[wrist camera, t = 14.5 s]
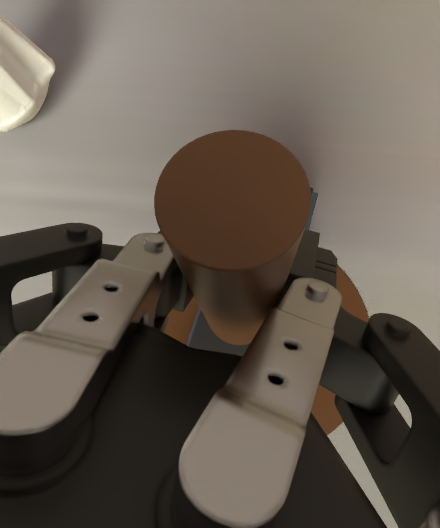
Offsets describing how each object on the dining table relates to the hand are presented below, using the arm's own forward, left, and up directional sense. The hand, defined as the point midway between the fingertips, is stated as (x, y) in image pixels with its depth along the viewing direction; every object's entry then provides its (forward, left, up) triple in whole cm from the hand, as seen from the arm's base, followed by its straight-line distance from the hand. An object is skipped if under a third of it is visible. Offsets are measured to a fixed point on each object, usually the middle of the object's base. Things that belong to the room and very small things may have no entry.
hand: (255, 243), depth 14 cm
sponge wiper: (+1, -1, -5) cm, 6 cm away
